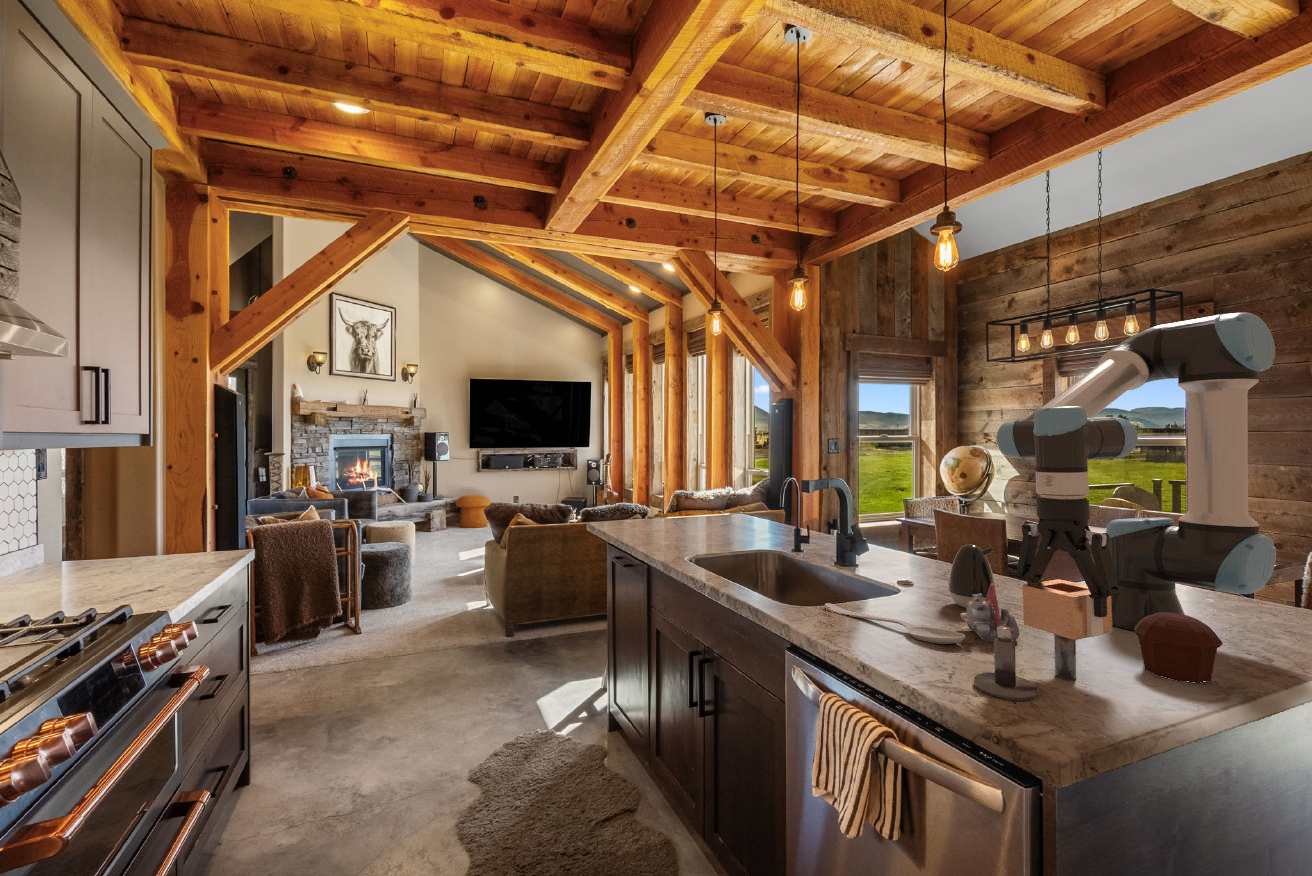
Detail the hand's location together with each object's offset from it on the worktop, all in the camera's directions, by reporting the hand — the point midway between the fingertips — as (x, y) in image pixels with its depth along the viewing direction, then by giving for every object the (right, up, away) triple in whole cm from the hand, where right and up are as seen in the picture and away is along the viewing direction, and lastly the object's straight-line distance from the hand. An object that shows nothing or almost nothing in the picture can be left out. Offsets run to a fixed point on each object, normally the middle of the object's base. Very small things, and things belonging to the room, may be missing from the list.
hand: (1066, 626), depth 102 cm
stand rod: (0, -8, 0) cm, 8 cm away
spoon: (-20, -10, +29) cm, 36 cm away
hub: (-13, -9, -5) cm, 17 cm away
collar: (0, 0, 0) cm, 0 cm away
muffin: (+20, -8, +1) cm, 21 cm away
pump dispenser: (+7, -9, +43) cm, 44 cm away
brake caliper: (-1, -9, +21) cm, 23 cm away
